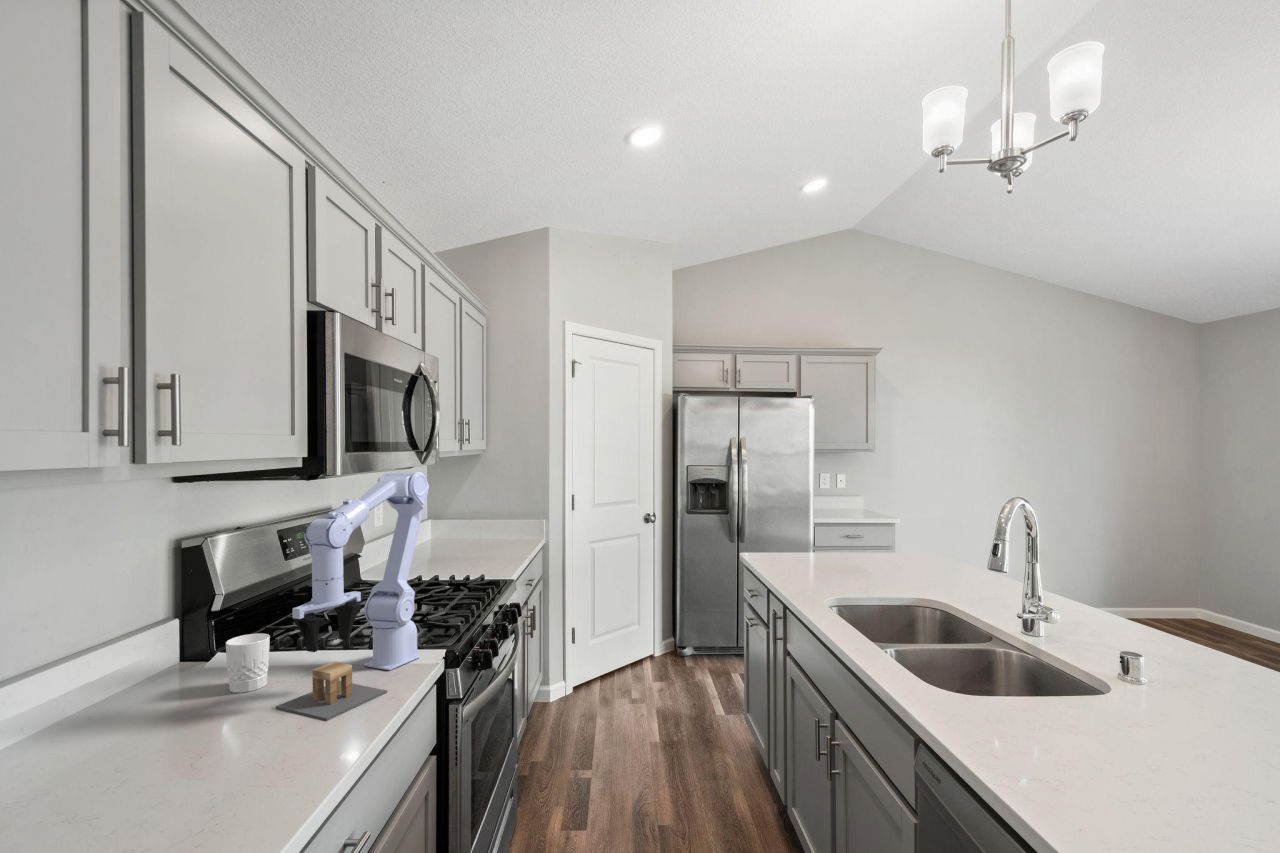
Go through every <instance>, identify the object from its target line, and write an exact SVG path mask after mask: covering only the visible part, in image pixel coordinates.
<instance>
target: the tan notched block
mask: <svg viewBox="0 0 1280 853" xmlns="http://www.w3.org/2000/svg"><path fill="white" fill-rule="evenodd" d="M340 679H341V680H340ZM340 681H341V697H345V698H347V697H349V696H352V683H353V665H352V664H349V663H343V662H338V661H332V662H330V663H327V664H324V665H322V666H319V667H317V668H314V669H312V691H313V701H316V702H319V701H321V700H323V699H324V687H325V704H329V705H331V704H334V703H336V702H337V693H340Z"/></svg>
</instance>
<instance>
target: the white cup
mask: <svg viewBox="0 0 1280 853" xmlns="http://www.w3.org/2000/svg"><path fill="white" fill-rule="evenodd" d="M270 638H271V635H269V633H250V634H243V635H239V636H235V637H232V638H230V639H227V641H225V653H226V654H225V655H226V668H227V669H226V670H227V678H228V681H229V682H228V684H229V692H231V693H234V694H235V693H236V694H241V693H242V694H243V693H249V692H253V691H257V690H260V689H261V688H264V687H266V685H267V684H268V671H269V663H270V662H269V661H270V643H271V642H270V641H271V640H270Z"/></svg>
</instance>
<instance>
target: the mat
mask: <svg viewBox="0 0 1280 853" xmlns="http://www.w3.org/2000/svg"><path fill="white" fill-rule="evenodd" d="M339 681H340V693H337V702H336V703H334V704H331V705H329V704H325V686H324V699H323V700H321V701H319V702H316V701H313V690H312V691H310V692H308V693H306V694H303V695H300V696H297V697H296V698H292V699H291V700H288V701H286V702H284V703H281V704H279V705H278V704H277V705H276V709H278V710H282V711H285V712H290V713H292V714H293V713H294V714H298V715H303V716H307V717H310V718H313V719H319V720H322V721H323V720H324V721H329V720H331V719H333V718H336V717H338V716H340V715H342V714H344V713H346V712H349V711H351V710H353V709H355V708H357V707H359V706H361V705H363V704H366V703H368V702H369V701H373V700H374V699H376V698H378V697H381V696H383V695H385V694H387V693H388V690H387V689H383V688H377V687H371V686H367V685H363V684H358V683H357V684H356V683H353V682H352V696H349V697H347V698H345V697H341V680H339Z"/></svg>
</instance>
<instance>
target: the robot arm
mask: <svg viewBox="0 0 1280 853" xmlns="http://www.w3.org/2000/svg"><path fill="white" fill-rule="evenodd" d="M376 481H377V482H376V483H375V484H373V486H372V487H371V488H370V489H368V490H367V491H366V492H365V493H364V494H362V496H361V497H359V498H358V499H357V498H346V499H344V500H342V503H343V504H341V505H339V506H338V507H337V508H336V509H334V510H333V511H332V510H331V511H329V512H328V513H327V515H326V516H325V517H324V518H317V519H314V520H312V522H310V523H309V524H308V526H307V528H306V530H305V533H304V534H303V538H304V541H305V543H306V545H307V546H308V549H309V550H308V553H309V554H310V556H311V584H312V586H311V588H312V589H311V590H312V591H311V593H312V594H311V595H312V597H311V600H310V601H308V602H305V603H303V604H301V605H299V606H296V607H292V619H293V622H294V624H295V625H296V627H297V628H298V630H299V631H300V634H301V636H302V638H303V641H304V643H305V648H306V651H307V652H309V653H316V652H318V649H319V631H320V627H321V623H322V619H323V618H322V617H319V616H317V615H315V614H318V613H322V612H325V611H327V610H331V609H334V610H335V612H336V617H337V622H338V624H337V625H338V627H337V628H338V638H339V640H341V641H349V640H350V638H351V634H352V629H353V626H354V623H355V620H356V618H357V616H358V615H359V612H360V611H361V608H362V603H359V602H361V601H362V598H361V597H362V596H361V594H362V593H361V591H358V590H357V591H356V590H354V591H350V592H344V591H345V590H344V589H345V588H344V587H345V586H344V546H345V545H347V543H348V542H349V540H350V537H351V535H352V533H353V531H355V530H356V529H357V528H359V527H360V526H361V525H362V524H363V523H365V522H366V521H368V518H369V516H370V511H372V510H373V509H375V508H376V507H378V506H380V505H381V504H383V503H384V502H385V501H386V502H387V503H388V504H389V505H390V507H391V508H392V509H394V510H396V512H397V514H398V515H397V520H396V524H395V528H394V530H393V531H394V532H393V535H392V536H393V537H392V539H391V545H390V548H389V553H388V556H387V561H386V565H385V569H384V573H383V574H384V575H383V577H382V580H380V581H379V582H378V583H376V584H375V585H374V586H373V587H372V588H371V592H370V594H369V596H368V598H367V600H366V602H365V604H364V607H363V609H364V610H363V611H364V612H363V613H364V617H365V618H366V620H367V621H368V622H369V626H372V658H373V659H372V660H370V661H368V662H365V663H364V667H369V668H374V669H379V670H384V671H391V670H394V669H396V668H398V667H401V666H403V665H405V664H408V663H410V662H412V661H415V660H416V659H419V658H421V655H419V654H418V629H417V626H416V624H415V622H414V621H413V620H411V619H412V617H413V615H414V612H415V596H416V595H415V594H416V591H415V590H414V589H413V588H412V587H411V585H410V584H408V580H409V576H410V570H411V566H412V561H413V557H414V553H415V552H414V551H415V548H416V543H417V539H418V534H419V530H420V526H421V523H422V517H423V512H424V509H425V506H426V503H427V499H428V498H427V497H428V492H429V490H430V485H429V483H428V480H427V477H426V476H425V474H424V473H423V472H421V471H417V472H389V471H388V472H386V473H384V474H382V475H381V476H379V477H377V480H376Z"/></svg>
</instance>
